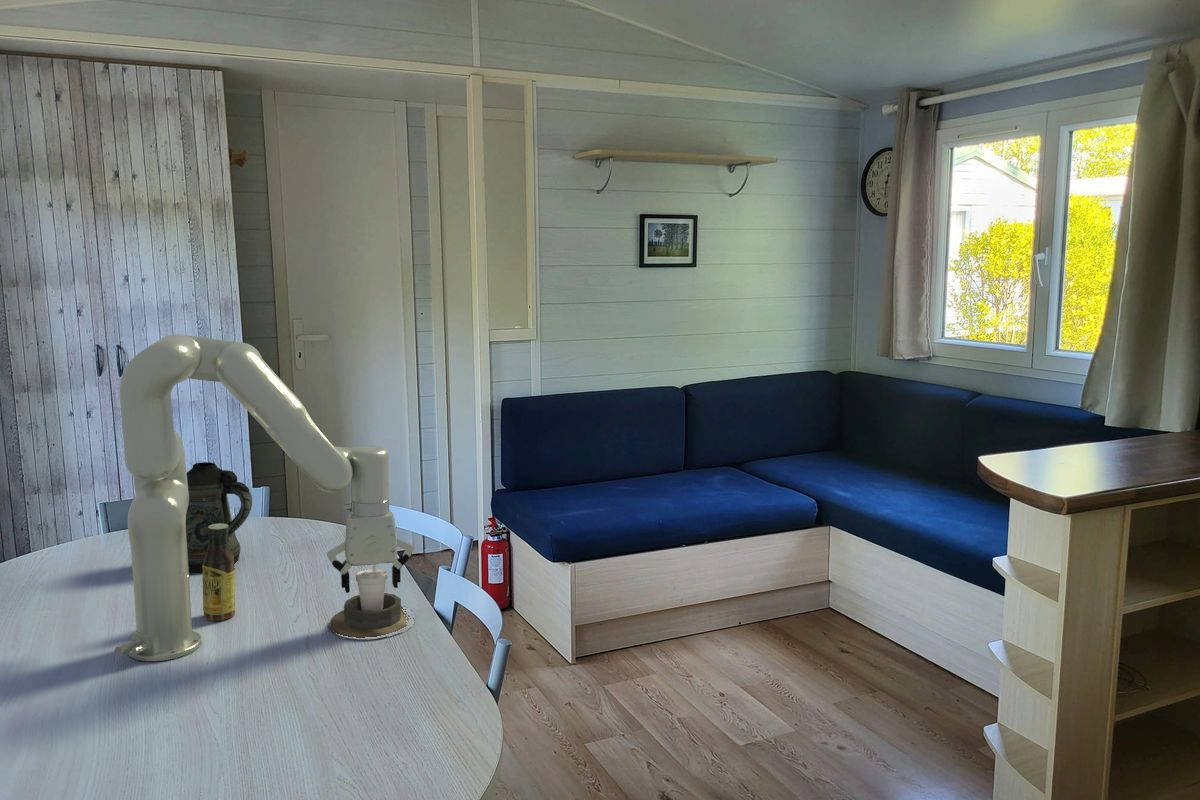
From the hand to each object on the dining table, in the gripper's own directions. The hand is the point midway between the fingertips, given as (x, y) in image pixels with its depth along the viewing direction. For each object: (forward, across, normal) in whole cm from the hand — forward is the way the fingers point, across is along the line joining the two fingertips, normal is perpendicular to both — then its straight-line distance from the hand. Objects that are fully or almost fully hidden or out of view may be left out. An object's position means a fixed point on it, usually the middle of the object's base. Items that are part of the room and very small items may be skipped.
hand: (371, 588), depth 184 cm
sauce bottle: (+8, -29, +13) cm, 33 cm away
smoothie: (+7, 0, 0) cm, 7 cm away
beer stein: (+8, -33, +51) cm, 62 cm away
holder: (+8, 0, 0) cm, 8 cm away
